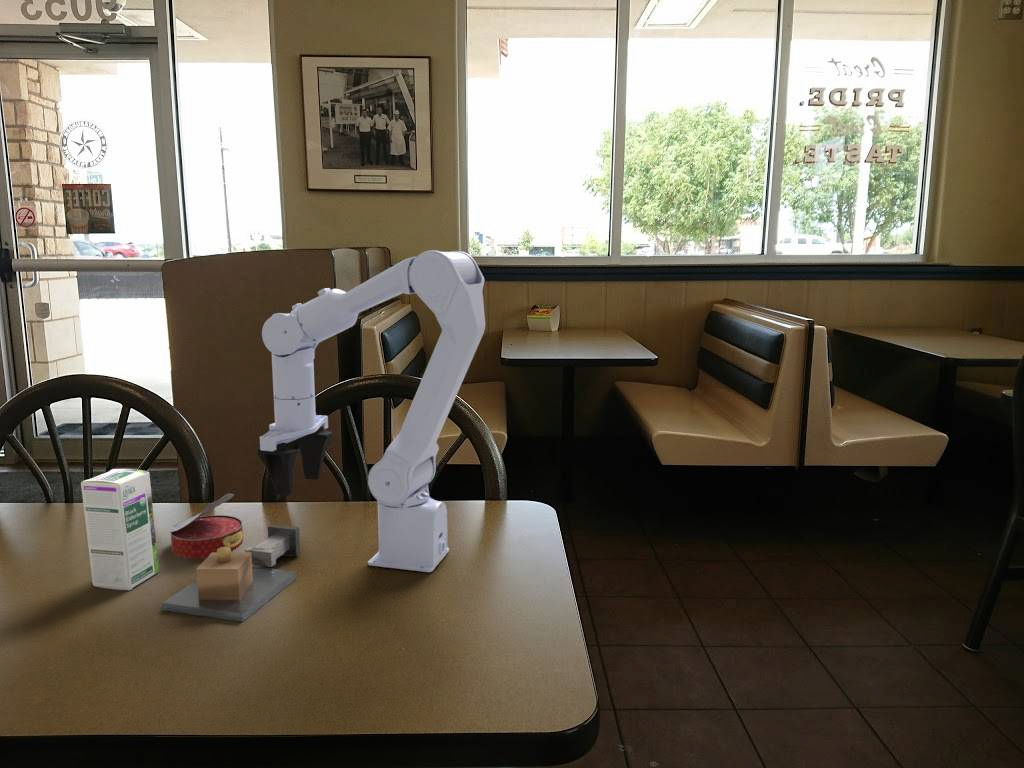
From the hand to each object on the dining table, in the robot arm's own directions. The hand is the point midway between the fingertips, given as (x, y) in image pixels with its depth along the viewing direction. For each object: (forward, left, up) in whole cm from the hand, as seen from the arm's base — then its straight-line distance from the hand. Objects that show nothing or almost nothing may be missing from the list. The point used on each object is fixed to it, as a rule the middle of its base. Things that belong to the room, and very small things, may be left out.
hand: (298, 486), depth 108 cm
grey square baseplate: (0, +17, -9) cm, 19 cm away
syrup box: (+16, +17, -9) cm, 25 cm away
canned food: (+13, +4, -9) cm, 17 cm away
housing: (0, +18, -8) cm, 20 cm away
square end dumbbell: (0, +8, -9) cm, 11 cm away
